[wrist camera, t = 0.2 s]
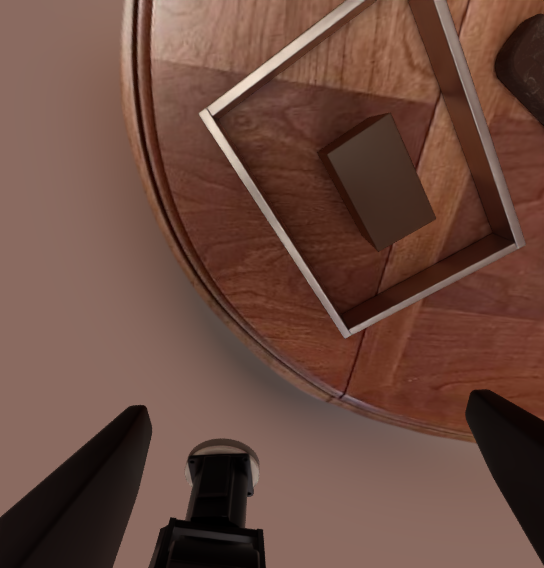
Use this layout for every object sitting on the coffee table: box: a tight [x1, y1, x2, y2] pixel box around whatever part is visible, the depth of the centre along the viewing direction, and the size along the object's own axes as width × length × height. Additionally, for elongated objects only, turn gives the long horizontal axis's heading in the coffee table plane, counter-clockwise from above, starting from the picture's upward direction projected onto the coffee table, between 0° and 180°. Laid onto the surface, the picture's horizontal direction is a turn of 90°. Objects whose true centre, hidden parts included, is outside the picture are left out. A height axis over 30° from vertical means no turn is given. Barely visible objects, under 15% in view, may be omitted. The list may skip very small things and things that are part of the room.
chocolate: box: [317, 113, 436, 252], centre depth 21 cm, size 7×4×4 cm, turn 33°
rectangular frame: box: [198, 0, 526, 338], centre depth 22 cm, size 19×14×2 cm
